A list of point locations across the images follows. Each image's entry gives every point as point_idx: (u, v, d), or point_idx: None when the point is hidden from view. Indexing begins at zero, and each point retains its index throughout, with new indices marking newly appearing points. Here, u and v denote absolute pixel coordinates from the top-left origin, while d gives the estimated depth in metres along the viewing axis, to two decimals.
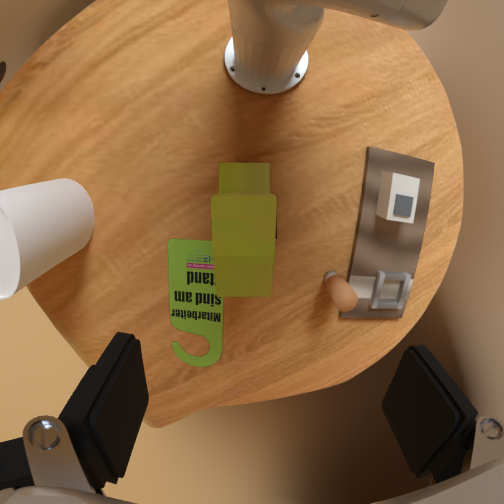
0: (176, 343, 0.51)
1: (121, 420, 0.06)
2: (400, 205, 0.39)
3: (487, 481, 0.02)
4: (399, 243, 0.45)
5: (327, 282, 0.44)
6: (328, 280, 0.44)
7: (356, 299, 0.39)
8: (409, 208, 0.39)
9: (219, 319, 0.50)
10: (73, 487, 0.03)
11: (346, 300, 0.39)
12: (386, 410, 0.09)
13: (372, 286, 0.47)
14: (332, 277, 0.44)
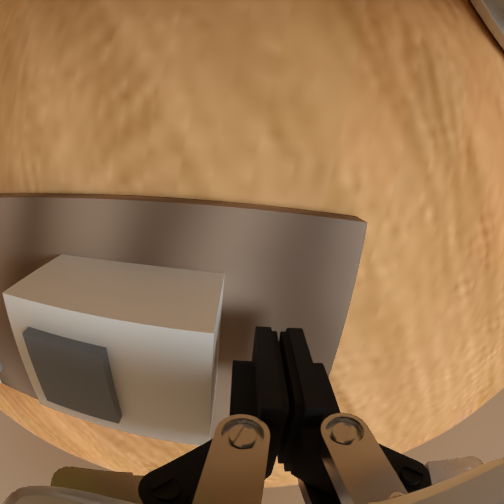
0: None
1: None
2: (61, 366, 0.07)
3: (487, 481, 0.02)
4: None
5: None
6: None
7: None
8: (71, 402, 0.07)
9: None
10: (243, 492, 0.04)
11: None
12: None
13: None
14: None
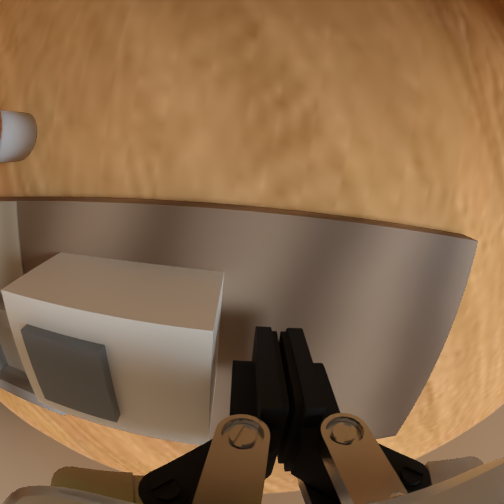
0: None
1: None
2: (60, 363, 0.07)
3: (487, 481, 0.02)
4: None
5: None
6: None
7: None
8: (69, 400, 0.07)
9: None
10: (243, 492, 0.04)
11: None
12: None
13: None
14: None
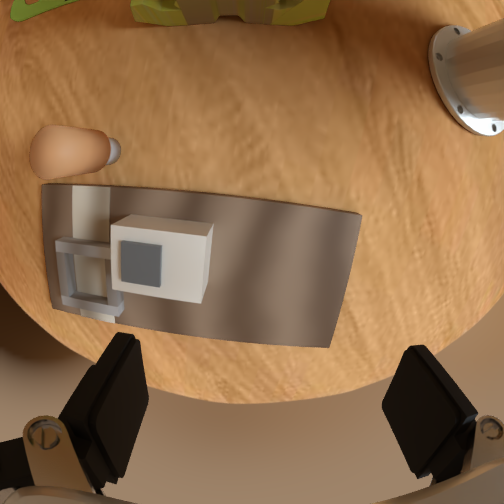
0: None
1: (121, 420, 0.06)
2: (139, 255, 0.19)
3: (487, 481, 0.02)
4: None
5: (96, 130, 0.18)
6: (98, 131, 0.18)
7: (50, 174, 0.14)
8: (136, 278, 0.20)
9: None
10: (73, 487, 0.03)
11: (49, 150, 0.14)
12: (386, 410, 0.09)
13: (92, 238, 0.23)
14: (104, 138, 0.18)
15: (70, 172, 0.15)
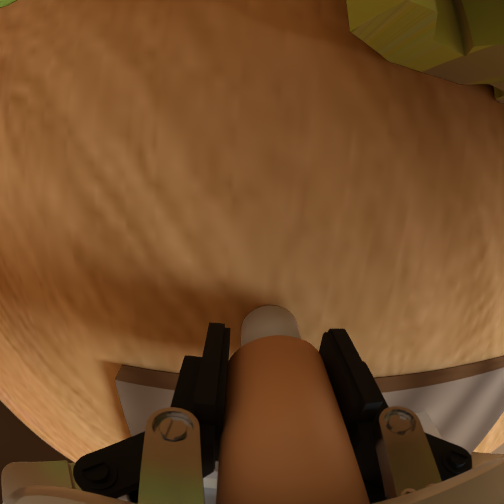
0: None
1: None
2: None
3: (487, 481, 0.02)
4: None
5: (303, 351, 0.08)
6: (310, 354, 0.08)
7: None
8: None
9: None
10: (183, 484, 0.04)
11: None
12: None
13: None
14: (324, 367, 0.09)
15: None
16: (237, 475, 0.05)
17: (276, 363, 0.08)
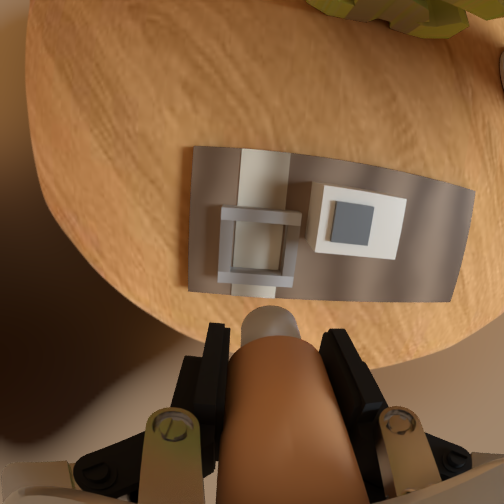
0: None
1: None
2: (354, 215, 0.20)
3: (487, 481, 0.02)
4: None
5: (303, 352, 0.08)
6: (310, 355, 0.08)
7: None
8: (347, 238, 0.21)
9: None
10: (183, 484, 0.04)
11: None
12: None
13: (264, 205, 0.24)
14: (324, 367, 0.09)
15: None
16: (237, 475, 0.05)
17: (276, 363, 0.08)
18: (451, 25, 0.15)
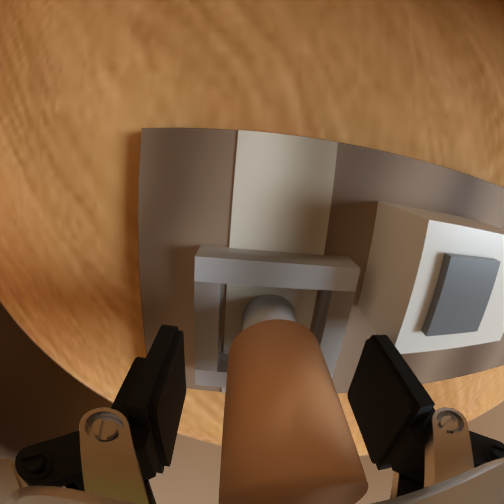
0: None
1: (171, 408, 0.07)
2: (471, 281, 0.08)
3: (487, 481, 0.02)
4: None
5: (300, 334, 0.09)
6: (306, 336, 0.09)
7: None
8: (452, 324, 0.09)
9: None
10: (124, 482, 0.04)
11: None
12: (351, 400, 0.10)
13: (284, 247, 0.12)
14: (320, 349, 0.09)
15: None
16: (241, 441, 0.05)
17: (275, 343, 0.08)
18: None
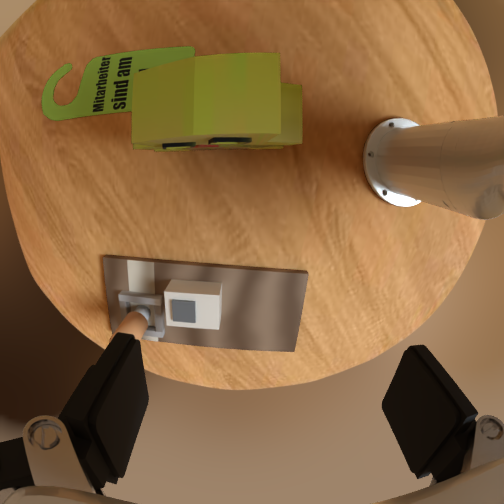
0: (69, 68, 0.30)
1: (121, 420, 0.06)
2: (182, 307, 0.36)
3: (487, 481, 0.02)
4: None
5: (137, 315, 0.37)
6: (139, 316, 0.37)
7: None
8: (181, 319, 0.36)
9: (95, 110, 0.33)
10: (73, 487, 0.03)
11: None
12: (386, 410, 0.09)
13: (143, 291, 0.40)
14: (143, 320, 0.37)
15: None
16: None
17: (130, 316, 0.36)
18: (270, 146, 0.30)
